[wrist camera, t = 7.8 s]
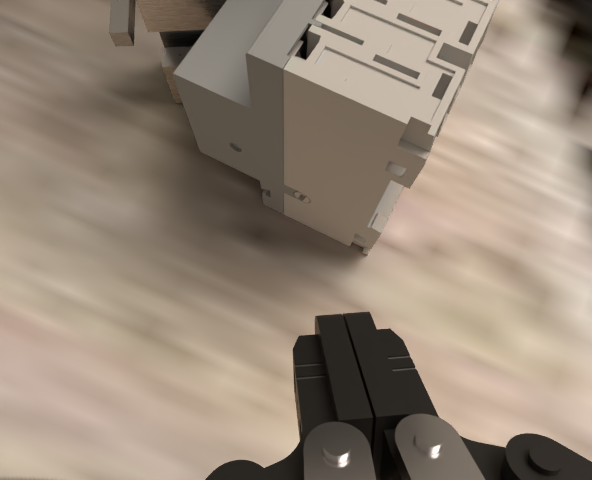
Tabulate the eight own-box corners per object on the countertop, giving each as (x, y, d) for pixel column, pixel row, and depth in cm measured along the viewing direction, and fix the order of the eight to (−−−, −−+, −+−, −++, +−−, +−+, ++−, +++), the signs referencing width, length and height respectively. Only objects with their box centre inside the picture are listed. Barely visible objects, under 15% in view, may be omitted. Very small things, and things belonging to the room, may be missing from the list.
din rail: (175, 103, 33) (122, -36, 22) (175, 85, 34) (123, -58, 23) (394, 91, 34) (446, -48, 23) (391, 74, 35) (441, -70, 24)
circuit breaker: (240, 91, 34) (209, -119, 20) (408, 169, 32) (506, -1, 18) (189, 168, 32) (113, -7, 18) (367, 255, 30) (440, 138, 16)
